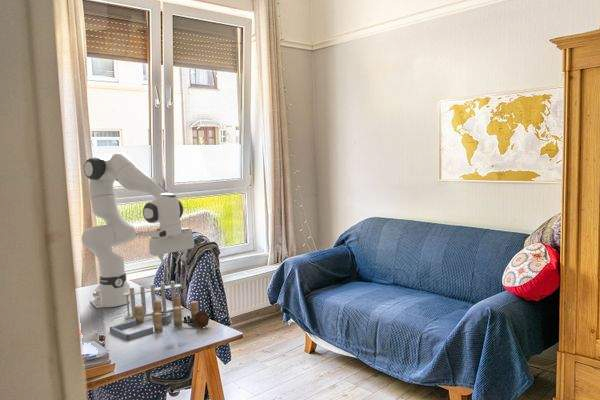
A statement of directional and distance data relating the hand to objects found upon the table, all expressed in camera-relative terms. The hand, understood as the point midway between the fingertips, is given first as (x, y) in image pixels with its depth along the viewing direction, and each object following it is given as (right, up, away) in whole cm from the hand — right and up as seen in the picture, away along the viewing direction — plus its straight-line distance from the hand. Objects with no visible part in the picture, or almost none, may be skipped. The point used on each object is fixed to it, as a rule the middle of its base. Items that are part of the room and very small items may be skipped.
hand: (174, 262), depth 208 cm
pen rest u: (-13, -26, -14) cm, 32 cm away
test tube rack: (-11, -25, +10) cm, 29 cm away
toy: (+11, -25, -9) cm, 29 cm away
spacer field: (-2, -25, -2) cm, 25 cm away
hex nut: (-3, -25, -4) cm, 26 cm away
